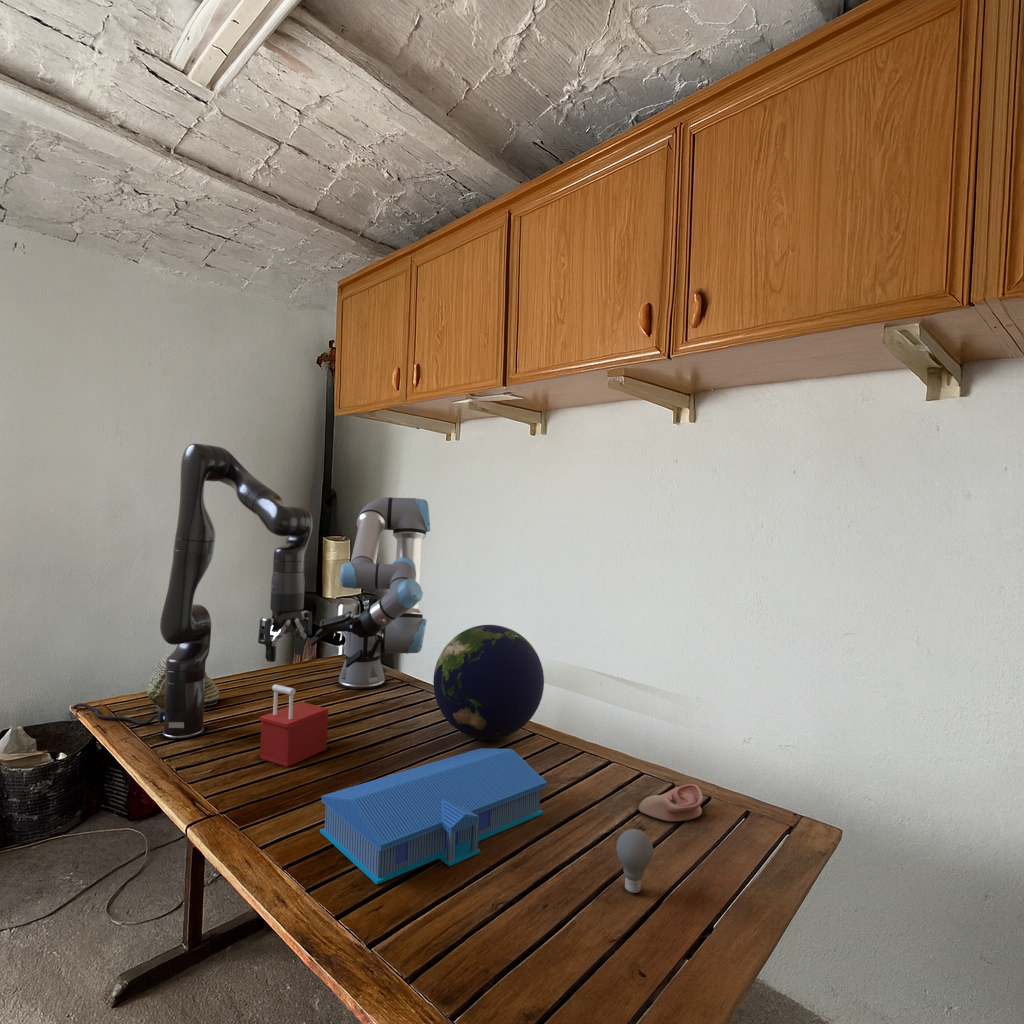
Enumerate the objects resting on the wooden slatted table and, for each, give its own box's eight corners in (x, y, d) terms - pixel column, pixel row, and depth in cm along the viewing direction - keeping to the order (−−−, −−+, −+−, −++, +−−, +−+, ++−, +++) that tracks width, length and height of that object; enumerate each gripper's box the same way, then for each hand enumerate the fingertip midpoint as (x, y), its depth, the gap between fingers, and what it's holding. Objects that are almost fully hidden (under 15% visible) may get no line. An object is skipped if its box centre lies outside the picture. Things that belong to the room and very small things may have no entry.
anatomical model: (639, 798, 130) (639, 775, 142) (638, 817, 130) (638, 792, 142) (706, 807, 128) (701, 783, 139) (705, 826, 128) (700, 800, 139)
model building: (386, 894, 102) (389, 832, 102) (318, 830, 120) (320, 778, 120) (555, 819, 128) (557, 770, 128) (478, 776, 146) (480, 733, 146)
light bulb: (610, 879, 108) (613, 822, 108) (644, 879, 109) (647, 822, 109) (619, 902, 102) (622, 840, 102) (655, 901, 103) (658, 840, 103)
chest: (287, 767, 147) (288, 727, 147) (259, 758, 152) (261, 719, 151) (326, 748, 159) (328, 712, 159) (300, 741, 163) (301, 705, 163)
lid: (287, 727, 147) (288, 692, 147) (259, 720, 151) (260, 686, 151) (328, 711, 159) (329, 679, 158) (301, 705, 163) (302, 673, 163)
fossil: (144, 707, 182) (145, 655, 182) (212, 696, 194) (213, 647, 194) (151, 716, 175) (153, 662, 175) (221, 703, 188) (223, 653, 188)
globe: (409, 744, 164) (414, 628, 163) (461, 710, 191) (466, 611, 191) (517, 767, 152) (522, 643, 152) (556, 727, 180) (560, 623, 180)
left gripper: (275, 595, 143) (272, 666, 143) (321, 588, 155) (318, 654, 156) (252, 591, 146) (249, 661, 146) (298, 585, 159) (296, 649, 159)
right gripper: (344, 603, 177) (294, 642, 183) (408, 646, 189) (359, 681, 196) (346, 585, 183) (298, 624, 189) (409, 628, 195) (361, 663, 202)
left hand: (285, 657), depth 151 cm, fingers open, 8 cm apart
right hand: (329, 653), depth 193 cm, fingers open, 13 cm apart
